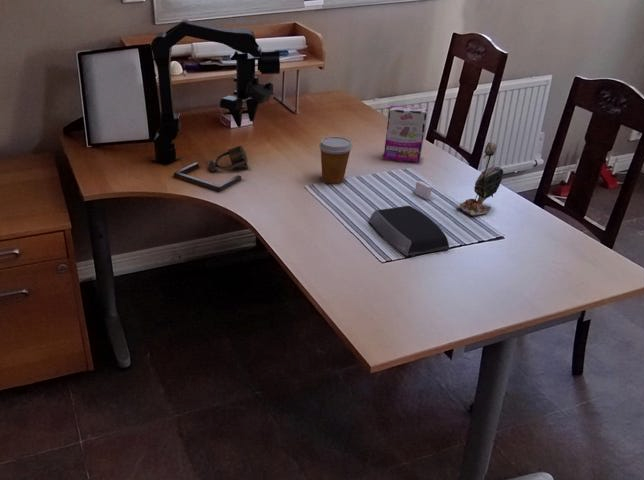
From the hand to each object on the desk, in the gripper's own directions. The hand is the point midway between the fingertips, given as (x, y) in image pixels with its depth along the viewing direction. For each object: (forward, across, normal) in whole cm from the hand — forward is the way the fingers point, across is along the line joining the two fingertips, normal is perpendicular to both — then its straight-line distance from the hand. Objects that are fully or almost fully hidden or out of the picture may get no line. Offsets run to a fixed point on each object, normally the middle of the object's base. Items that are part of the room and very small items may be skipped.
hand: (245, 124), depth 200 cm
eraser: (+12, +8, -57) cm, 59 cm away
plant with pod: (+12, +9, -72) cm, 74 cm away
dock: (+12, -19, 0) cm, 23 cm away
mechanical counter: (+12, -8, 0) cm, 15 cm away
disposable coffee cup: (+12, +3, -31) cm, 33 cm away
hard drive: (+12, -16, -64) cm, 67 cm away
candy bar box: (+12, +30, -40) cm, 52 cm away
